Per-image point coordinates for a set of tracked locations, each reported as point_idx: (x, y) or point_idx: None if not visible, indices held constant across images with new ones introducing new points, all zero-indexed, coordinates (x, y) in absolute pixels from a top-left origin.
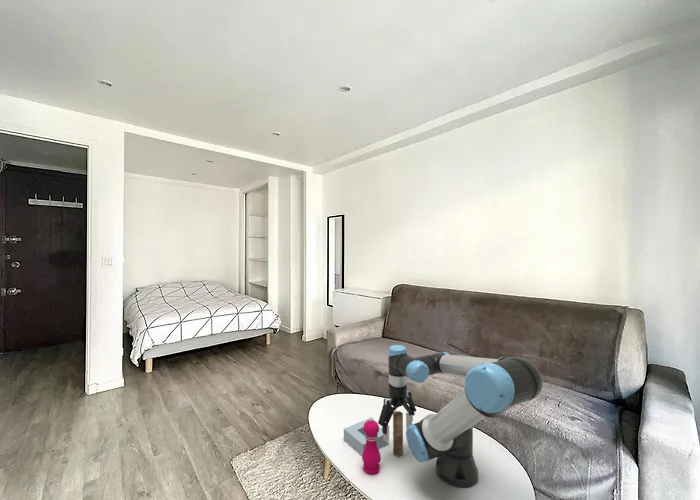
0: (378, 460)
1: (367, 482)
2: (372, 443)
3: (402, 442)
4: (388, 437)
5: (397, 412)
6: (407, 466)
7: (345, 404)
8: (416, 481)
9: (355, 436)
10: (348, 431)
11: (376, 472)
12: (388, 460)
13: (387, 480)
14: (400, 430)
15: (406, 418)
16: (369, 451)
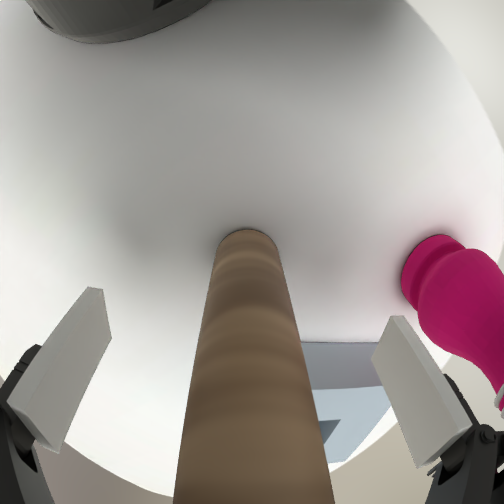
0: (480, 256)
1: (488, 229)
2: None
3: (237, 266)
4: (416, 343)
5: None
6: (304, 142)
7: None
8: (366, 45)
9: (367, 427)
10: (350, 450)
11: (449, 237)
12: (338, 256)
13: (451, 170)
14: (274, 350)
15: (74, 406)
16: None
